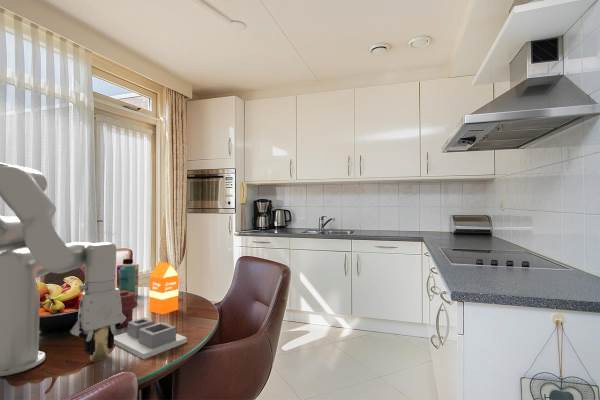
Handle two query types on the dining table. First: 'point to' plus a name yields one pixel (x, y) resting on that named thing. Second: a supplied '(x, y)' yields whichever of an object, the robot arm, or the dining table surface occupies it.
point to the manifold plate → (148, 338)
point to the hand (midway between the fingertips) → (99, 349)
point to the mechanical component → (127, 306)
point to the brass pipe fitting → (100, 344)
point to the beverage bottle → (127, 277)
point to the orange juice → (163, 289)
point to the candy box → (135, 275)
